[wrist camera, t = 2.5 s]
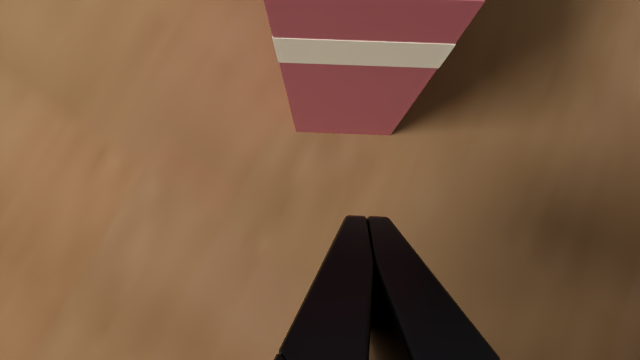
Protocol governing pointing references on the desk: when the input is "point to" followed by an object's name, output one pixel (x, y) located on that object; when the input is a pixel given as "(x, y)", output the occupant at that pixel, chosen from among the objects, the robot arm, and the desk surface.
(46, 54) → the desk surface
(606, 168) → the desk surface
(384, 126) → the book
